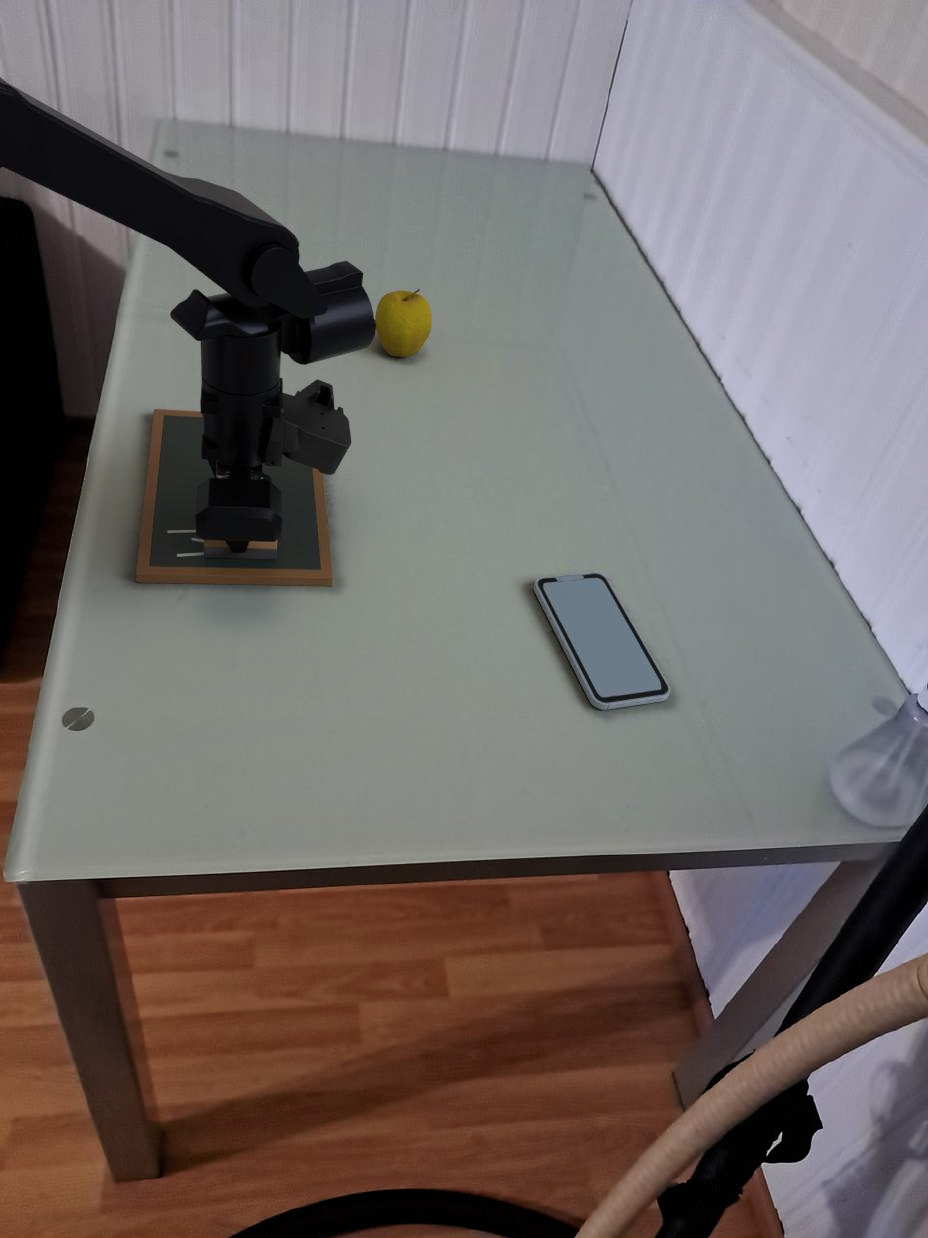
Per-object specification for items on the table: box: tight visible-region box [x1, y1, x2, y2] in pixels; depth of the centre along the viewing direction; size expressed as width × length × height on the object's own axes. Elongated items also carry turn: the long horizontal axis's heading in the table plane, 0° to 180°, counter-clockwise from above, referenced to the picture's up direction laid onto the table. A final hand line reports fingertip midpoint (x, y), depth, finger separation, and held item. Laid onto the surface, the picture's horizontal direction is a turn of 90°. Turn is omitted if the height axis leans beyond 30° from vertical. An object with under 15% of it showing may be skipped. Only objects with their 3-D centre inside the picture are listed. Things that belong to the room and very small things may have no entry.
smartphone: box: [533, 571, 672, 711], centre depth 83 cm, size 7×1×15 cm
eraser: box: [204, 540, 277, 560], centre depth 81 cm, size 6×4×4 cm, turn 99°
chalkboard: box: [135, 408, 334, 587], centre depth 88 cm, size 16×24×1 cm, turn 9°
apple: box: [374, 288, 433, 358], centre depth 110 cm, size 6×6×8 cm
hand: (239, 535), depth 82 cm, fingers closed on eraser, 4 cm apart
